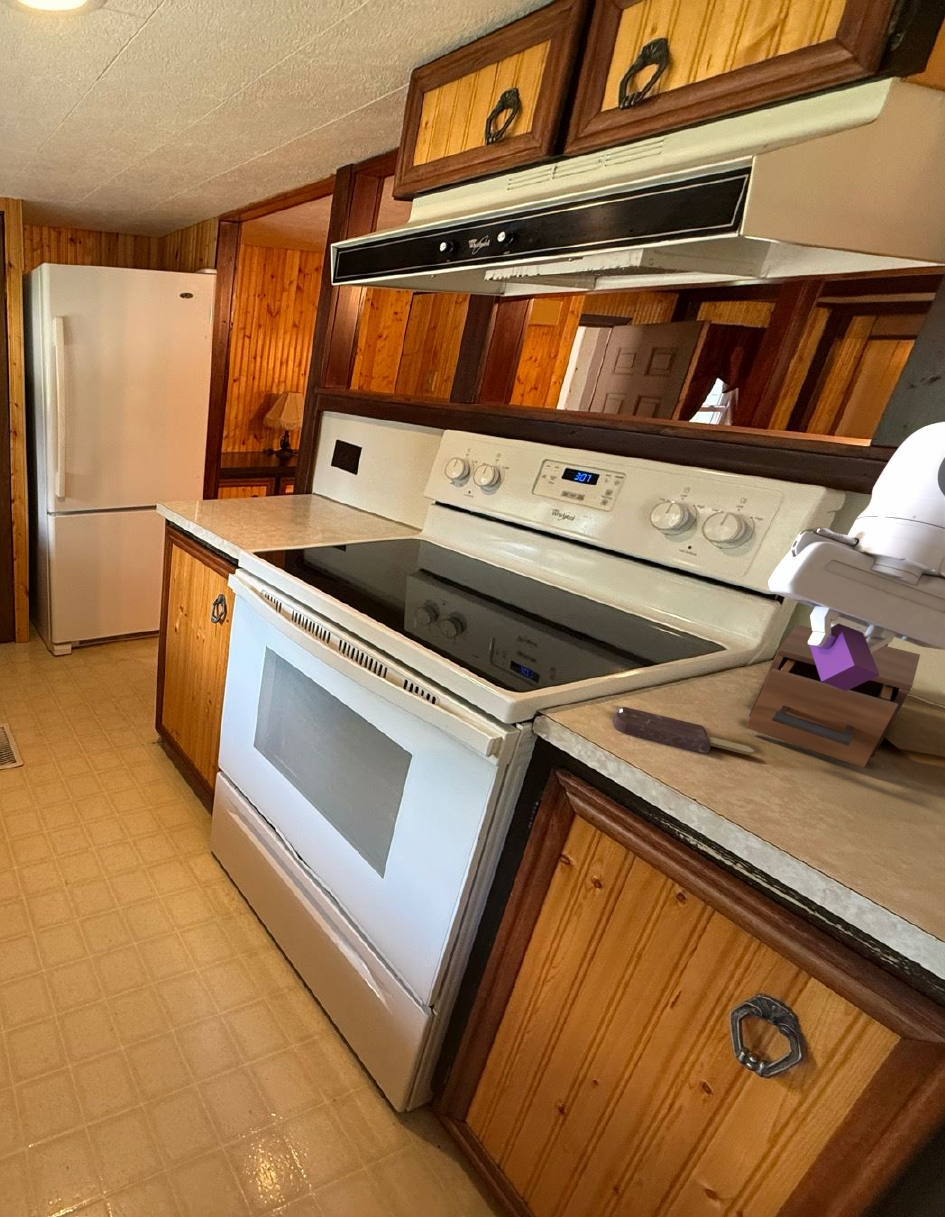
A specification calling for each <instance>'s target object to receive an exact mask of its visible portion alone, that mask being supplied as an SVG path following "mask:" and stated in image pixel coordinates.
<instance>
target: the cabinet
mask: <svg viewBox="0 0 945 1217" xmlns="http://www.w3.org/2000/svg"><path fill="white" fill-rule="evenodd" d="M812 633H813V631H812V627H810V626H805V625H801V624H797V625H796V626H795V627H794V629H793V630H792V631H791V633H790V634H789V635H788V637H787V638H786V639H785V640H784V642H783V643H782V644H781V646H779V648H778V650H777V652H776V654H775V656H774V658H773V661H772V663H771V665H770V667H769V669H768V671H767V673H766V676H765V678H764V680H763V683H762V685H761V687H760V690H759V692H758V693H757V696H756V698H755V700H754V703H753V704H752V707H751V709H750V711H749V713H748V716H749V717H751V715H752V712H753V710H754V708H755V706H756V703H757V701H758V699H759V697H760V695H761V692H762V690H763V688H764V686H765V683H766V681H767V679H768V677H769V675H770V672H771V670H772V669H773V668H774V669H777V670H781V669H782V668H783V666H784V665H785V663H786V662H787V661H788V659H789V658H790V659H794V660H798V661H801V662H805V663H809V664H812V665H816V664H815V661H814V658H813V655H812V652H811V649H810V646H809V644H808V640H809V638H810V636H811V635H812ZM872 657H873V659H874V662H875V664H876V667H877V669H878V672H879V674H880V675H879V676H877V677H875V678H873V679H871V681H875V682H878V683H882V684H886V685H889V686H893V687H894V688H893V691H892V695H891V698H890V702H894V703H897V704H898V706H897V708H896V710H895V712H894V714H893V716H892V718H891V719H890V721H889V723H888V725H887V727H886V729H885V730H884V732H883V734H882V736H881V738H880V740H879V741H878V743H877V745H876V747H875V749H874V751H873V752H872V754H871V756H870V757H875V756H876V753H877V752H878V750H879V748H880V746H881V744H882V742H883V741H884V739H885V737H886V735H887V733H888V731H889V730H890V728H891V726H892V724H893V722H894V721H895V719H896V718H897V717H896V716H897V714H898V713H899V712H900V709H901V708H902V706H903V705H904V702H905V700H906V699H907V697H908V695H909V693H910V691H911V689H912V688H913V685H914V681H915V677H916V674H917V670H918V665H919V661H920V657H921V654H920V653H917V652H913V651H908V650H905V649H899V648H895V647H892V646H889V645H888V646H883V647H881V648H880V649H878V650H876V651H874V652H873V653H872Z"/></svg>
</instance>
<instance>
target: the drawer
mask: <svg viewBox="0 0 945 1217" xmlns="http://www.w3.org/2000/svg"><path fill="white" fill-rule="evenodd" d="M893 688H894V687H893V686H889V685H886V684H882V683H878V682H875V681H871V680H869V681H866V682H864V683H862V684H860V685H858V686H856V687H854V688H851V689H849V690H847V691H844V690H841V689H839V688H836V687H834V686H831V685H829V684H826V683H824V682H822V681H821V679H820V676H819V673H818V670H817V667H816V665H812V664H809V663H805V662H801V661H798V660H794V659H790V658H789V659H788V661H787V662H786V663H785V665H784V666H783V668H782V669H781V670H777V669H774V668H773V669H772V670H771V672H770V675H769V677H768V679H767V681H766V683H765V686H764V688H763V690H762V692H761V695H760V697H759V699H758V701H757V703H756V706H755V708H754V710H753V712H752V715H751V716H749V719H748V721H747V723H746V725H745V728H746V729H749V730H751V731H754V732H758V733H761V734H762V735H763V734H764V735H767V736H770V737H773V738H775V739H778V740H781V741H784V742H787V743H790V744H793V745H796V746H798V747H802V748H804V749H808V750H810V751H814V752H816V753H819V754H822V755H826V756H828V757H831V758H834V759H837V760H840V761H842V762H845V763H849V764H852V765H854V766H857V767H860V768H863V769H865V768H866V765H867V764H868V762H869V760H870V758H871V757H872V756H871V754H872V752H873V751H874V749H875V747H876V745H877V743H878V741H879V740H880V738H881V736H882V734H883V732H884V730H885V729H886V727H887V725H888V723H889V721H890V719H891V718H892V716H893V714H894V712H895V710H896V708H897V706H898V704H897V703H894V702H890V698H891V695H892V691H893Z"/></svg>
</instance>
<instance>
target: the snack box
mask: <svg viewBox="0 0 945 1217" xmlns="http://www.w3.org/2000/svg"><path fill="white" fill-rule="evenodd" d="M831 635H832V636H835V637H837V639H836V640H835V642H834V643H833V645H832V647H831V648H830V649H821V648H817V647H815V646H812V645H809V646H810V649H811V652H812V655H813V658H814V661H815V664H816V667H817V670H818V673H819V676H820V679H821V681H822V682H824V683H826V684H829V685H831V686H834V687H836V688H839V689H841V690H844V691H847V690H849V689H851V688H854V687H856V686H858V685H860V684H862V683H864V682H866V681H869V680H871V679H873V678H875V677H877V676H879V675H880V674H879V672H878V669H877V667H876V664H875V662H874V659H873V657H872V654H871V652H870V649H869V647H868V644H867V642H866V639H865V637H864V634H863V633H862V632H860V631H857V630H855V629H852V628H850V627H847V626H844V625H842V624H839V623H838V624H836V625H835V626H833V627H831Z"/></svg>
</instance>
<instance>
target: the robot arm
mask: <svg viewBox="0 0 945 1217" xmlns="http://www.w3.org/2000/svg"><path fill="white" fill-rule="evenodd" d="M853 522H854V523H853V524H852V526H851V528H850V529H849V532H848V533H847V534H844V533H839V532H836V531H832V530H831V529H829V528H826V527H823V526H816V527H811V528H806V529H804V530H802V531H800V532H799V533H798V534H797V535H796V537H795V538H794V541H793V542H792V545H791V547H790V549H789V551H788V552H787V553H786V554H785V555H784V557H782V559H781V560H780V561H779V563H778V565H776V567H775V569H774V570H773V572H772V573H771V575H770V577H769V579H768V580H767V585H768V589H769V592H770V593H772V594H775V595H778V596H780V597H783V598H786V599H789V600H792V601H794V602H797V603H800V604H803V605H805V606H808V607H811V608H813V610H812V611H811V613H810V615H809V618H810V625H811V628H812V631H813V633H812V635H811V636H810V638H809V640H808V644H809V645H812V646H815V647H817V648H821V649H830V648H831V647H832V645H833V643H834V642H835V640H836V639H837V637H835V636H832V635H831V621H836V620H837V618H838V617H841V618H844V619H846V620H849V621H852V622H855V623H857V624H860V625H863V626H866V627H868V629H867V631H866V633H865V636H867V637H869V638H867V639H866V642H867V644H868V647H869V649H870V652H871V654H872V653H873V652H874V651H876V650H878V649H880V648H881V647H883V646H885V645H887V644H888V643H889V644H891V643H892V642H893V640H894V638H895V639H899V640H902V641H905V642H907V643H910V644H912V645H916V646H919V647H922V648H928V649H934V650H943V651H945V421H939V422H936V423H931V424H928V425H926V426H922V427H921V428H919V429H917V430H915V431H914V432H912V433H911V434H910V435H909V436H908V437H907V438H905V440H904V441H903V442H902V443H901V444H900V445H899V446H898V448H897V449H896V451H895V452H894V453H893V455H892V456H891V458H890V459H889V460H888V462H887V464H886V465H885V467H884V468H883V470H882V471H881V473H880V475H879V477H878V478H877V480H876V482H875V484H874V486H873V487H872V491H871V498H870V501H869V504H868V505H867V507H865V509H864V510H863V511H862V512H860V514H859V515H857V517H856V519H855V520H854V521H853ZM889 644H888V645H889Z"/></svg>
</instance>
